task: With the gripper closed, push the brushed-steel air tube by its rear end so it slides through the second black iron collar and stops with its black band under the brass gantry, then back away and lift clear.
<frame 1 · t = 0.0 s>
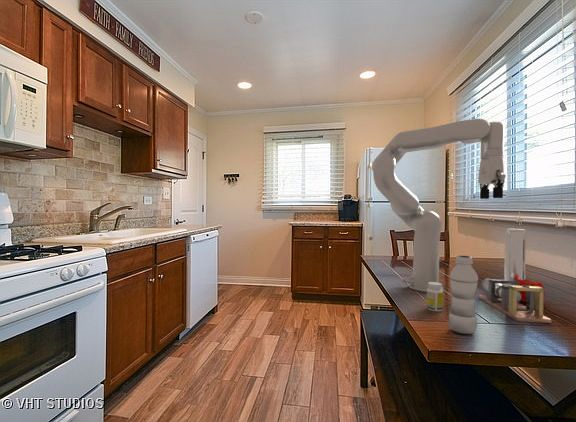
hand: (490, 198, 120), 37 cm above the table, tool pointing down, fingers open, 9 cm apart
plastic bottle: (462, 332, 80), on the table
air filter: (514, 293, 119), on the table
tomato: (528, 302, 107), on the table
air tube: (499, 290, 106), point 4 cm above the table, slide at 0.0 cm
supplement bottle: (434, 310, 98), on the table
collar rail: (510, 308, 99), on the table
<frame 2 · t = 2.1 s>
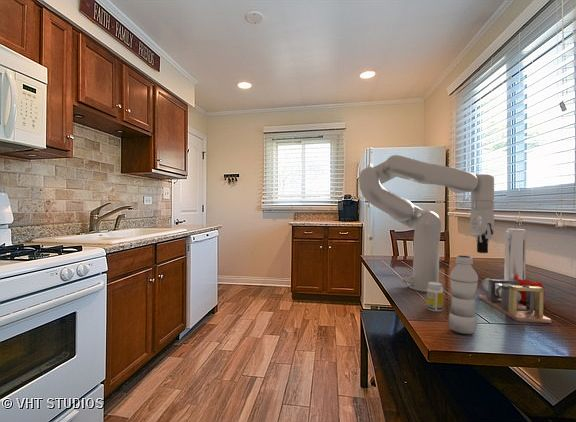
hand: (482, 252, 119), 15 cm above the table, tool pointing down, fingers closed
nothing on the table moved.
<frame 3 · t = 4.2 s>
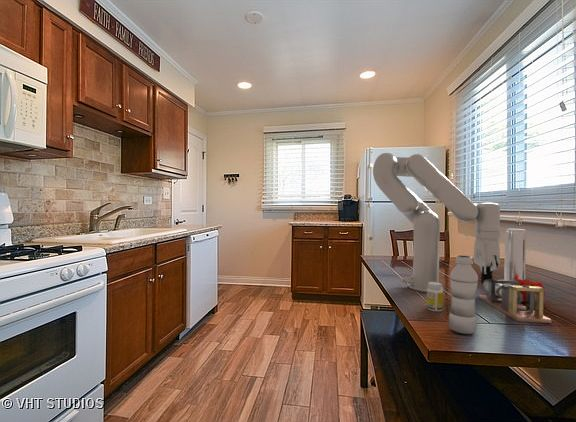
hand: (486, 284, 115), 4 cm above the table, tool pointing down, fingers closed
air tube: (501, 290, 105), point 4 cm above the table, slide at 0.9 cm, touching gripper
everything else where it was.
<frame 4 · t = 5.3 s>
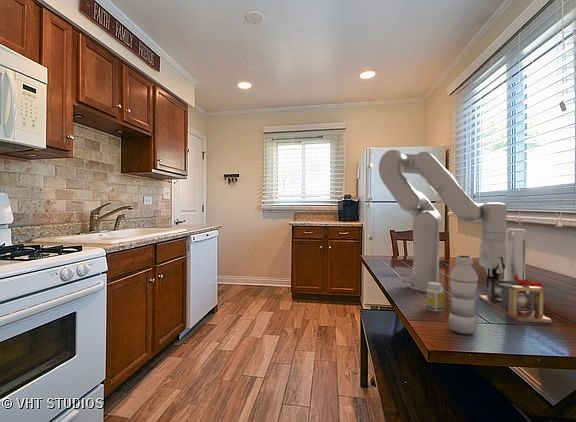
hand: (492, 287, 111), 4 cm above the table, tool pointing down, fingers closed
air tube: (508, 294, 101), point 4 cm above the table, slide at 5.1 cm, touching gripper
everything else where it was.
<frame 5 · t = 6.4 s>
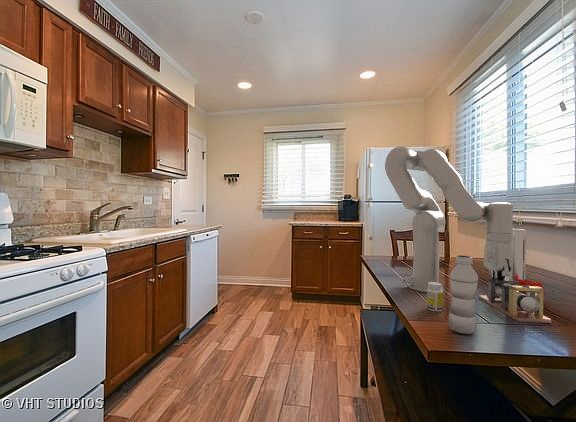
hand: (497, 289, 107), 4 cm above the table, tool pointing down, fingers closed
air tube: (514, 297, 97), point 4 cm above the table, slide at 8.6 cm, touching gripper
everything else where it was.
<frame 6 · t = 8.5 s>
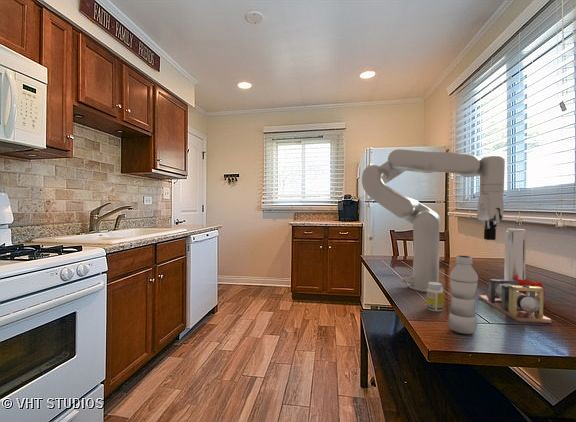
hand: (489, 239, 112), 21 cm above the table, tool pointing down, fingers closed
air tube: (514, 297, 97), point 4 cm above the table, slide at 8.6 cm
everything else where it was.
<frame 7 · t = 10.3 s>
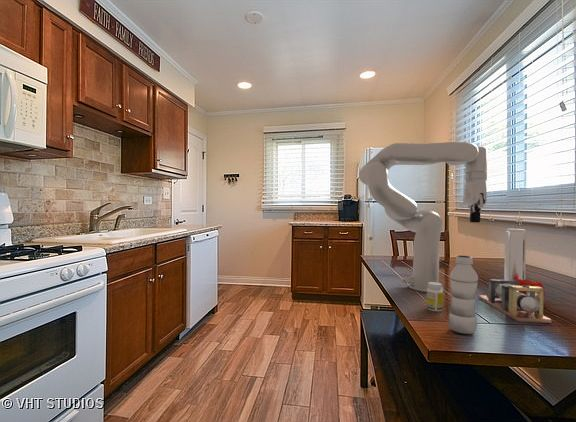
hand: (475, 222, 124), 27 cm above the table, tool pointing down, fingers closed
nothing on the table moved.
at the end: air tube slide at 8.6 cm; the gripper is holding nothing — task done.
